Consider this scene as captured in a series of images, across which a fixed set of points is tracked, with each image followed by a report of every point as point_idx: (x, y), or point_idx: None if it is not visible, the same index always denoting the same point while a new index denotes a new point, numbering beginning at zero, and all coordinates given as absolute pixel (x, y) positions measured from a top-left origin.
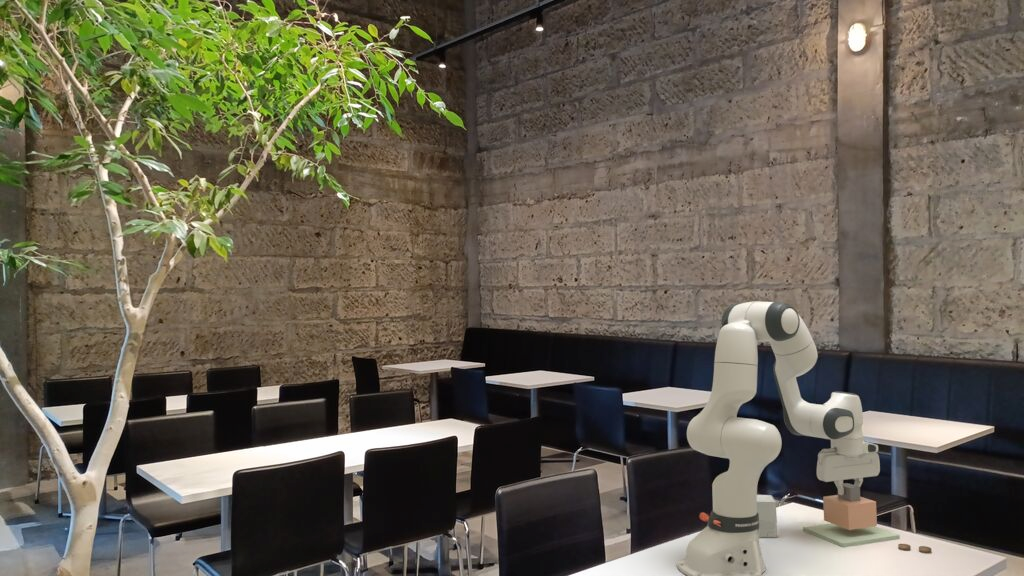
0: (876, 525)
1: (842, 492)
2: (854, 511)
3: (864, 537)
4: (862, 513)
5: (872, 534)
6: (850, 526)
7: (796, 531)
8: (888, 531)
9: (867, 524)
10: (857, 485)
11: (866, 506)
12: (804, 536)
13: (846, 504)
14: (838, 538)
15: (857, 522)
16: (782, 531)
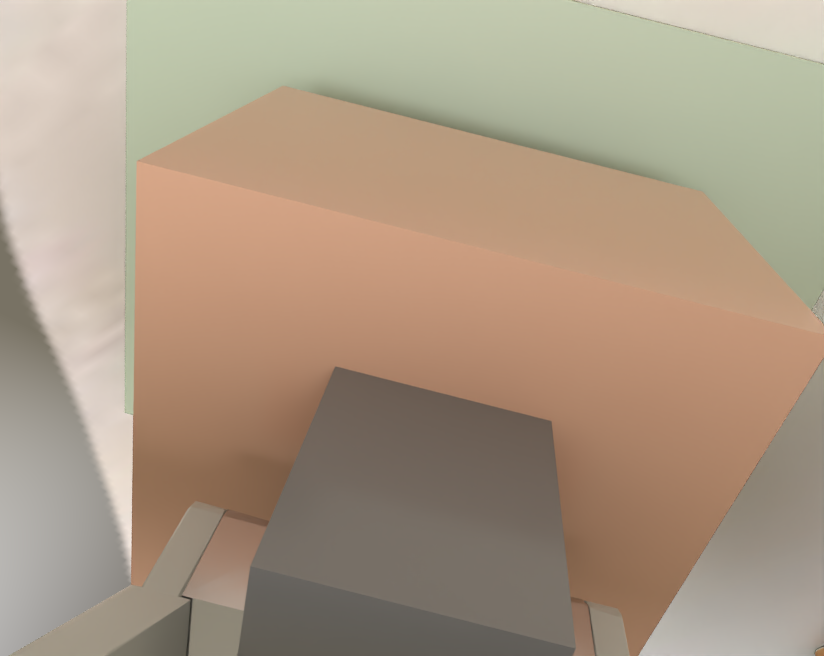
0: (287, 88)
1: (623, 646)
2: (653, 248)
3: (531, 81)
4: (490, 190)
5: (367, 92)
6: (688, 197)
7: (722, 550)
8: (136, 51)
9: (422, 128)
10: (157, 646)
11: (392, 200)
12: (811, 463)
13: (785, 385)
14: (773, 225)
15: (579, 180)
16: (800, 602)
